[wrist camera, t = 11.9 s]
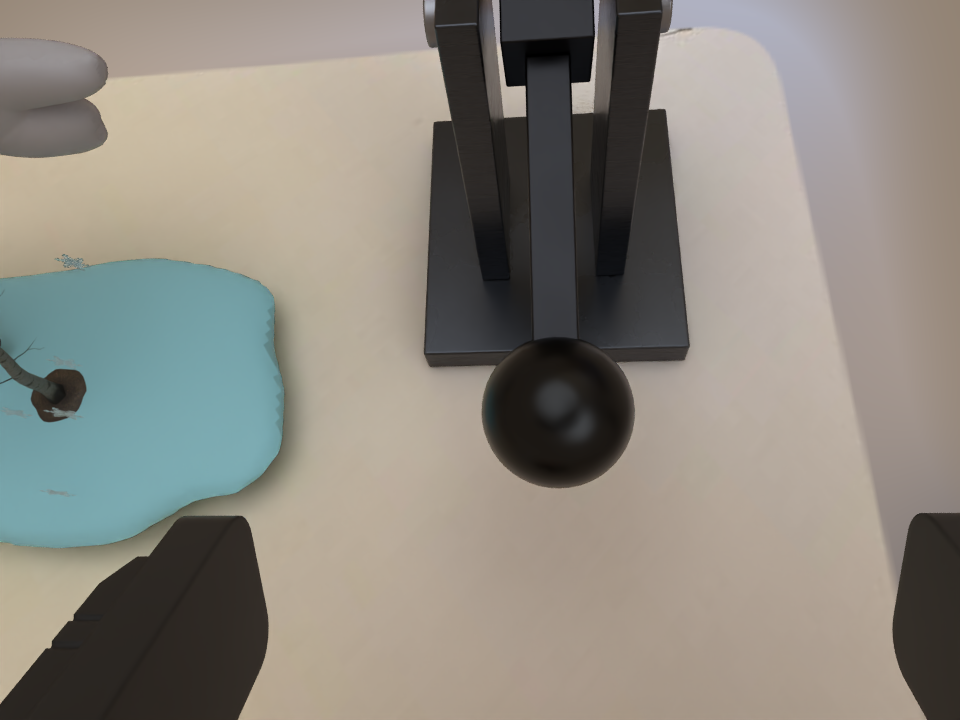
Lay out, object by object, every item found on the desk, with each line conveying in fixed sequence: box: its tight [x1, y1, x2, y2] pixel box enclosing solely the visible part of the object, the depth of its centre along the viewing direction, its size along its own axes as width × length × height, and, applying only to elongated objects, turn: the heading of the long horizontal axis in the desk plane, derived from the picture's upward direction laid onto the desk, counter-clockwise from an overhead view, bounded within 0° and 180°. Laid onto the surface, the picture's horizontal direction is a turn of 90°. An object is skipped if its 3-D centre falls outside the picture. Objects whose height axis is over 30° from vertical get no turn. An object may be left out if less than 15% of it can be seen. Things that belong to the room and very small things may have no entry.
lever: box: [482, 0, 635, 488], centre depth 19 cm, size 13×4×4 cm, turn 179°
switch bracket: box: [423, 0, 690, 367], centre depth 24 cm, size 10×9×13 cm
